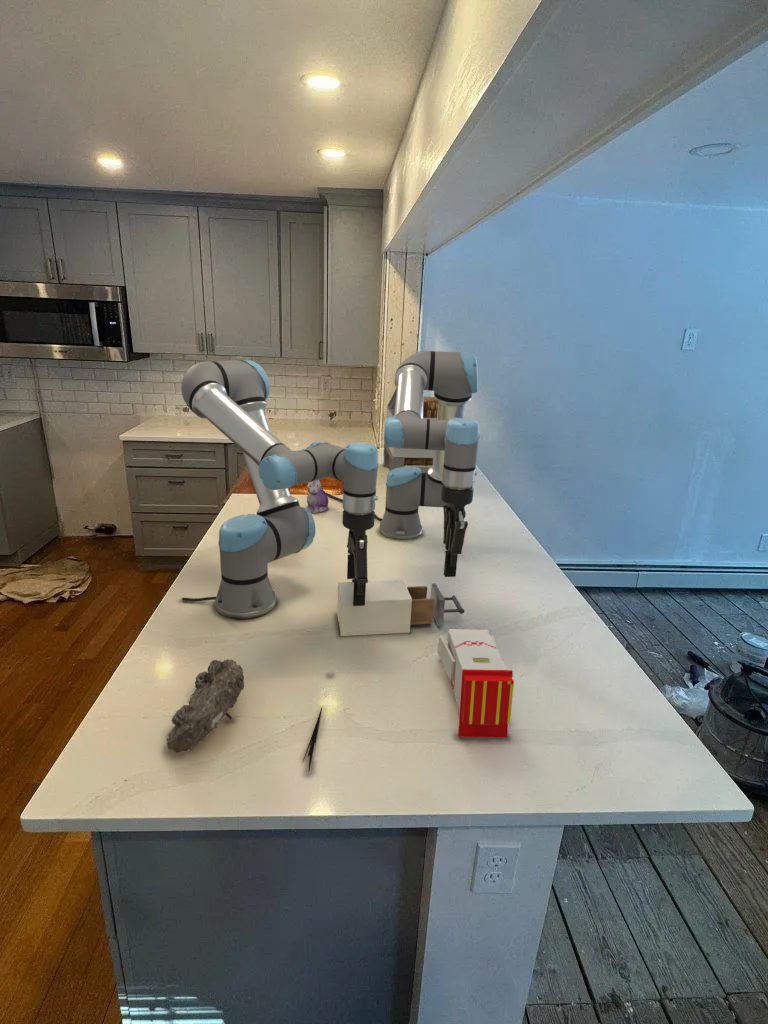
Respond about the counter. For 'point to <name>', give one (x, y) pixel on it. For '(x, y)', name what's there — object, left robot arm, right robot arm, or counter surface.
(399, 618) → the cabinet
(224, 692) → the fossil
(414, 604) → the drawer
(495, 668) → the toy
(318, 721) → the feather
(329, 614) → the counter surface
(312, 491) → the figurine
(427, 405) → the transformer
